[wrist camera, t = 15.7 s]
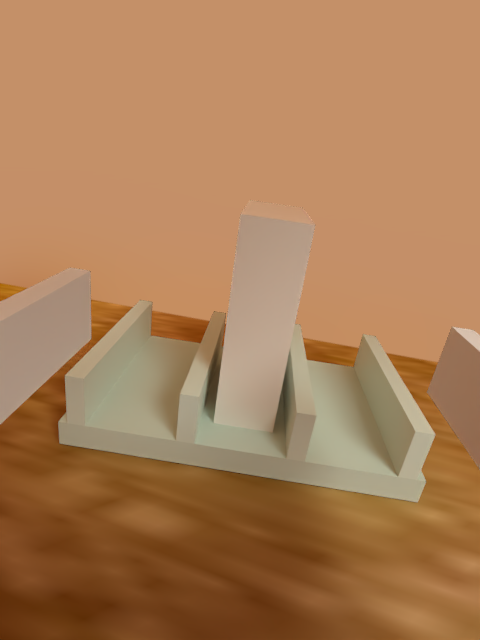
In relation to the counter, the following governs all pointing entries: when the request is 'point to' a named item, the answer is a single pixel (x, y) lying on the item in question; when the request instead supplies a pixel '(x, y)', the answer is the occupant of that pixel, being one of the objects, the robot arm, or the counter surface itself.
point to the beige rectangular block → (262, 312)
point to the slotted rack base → (241, 443)
